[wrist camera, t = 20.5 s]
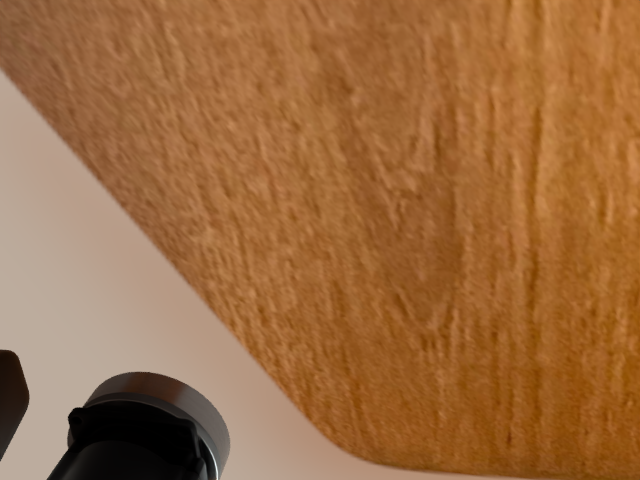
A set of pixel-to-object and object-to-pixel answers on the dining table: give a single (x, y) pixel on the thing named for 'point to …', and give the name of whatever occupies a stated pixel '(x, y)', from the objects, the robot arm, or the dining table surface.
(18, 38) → the dining table surface
